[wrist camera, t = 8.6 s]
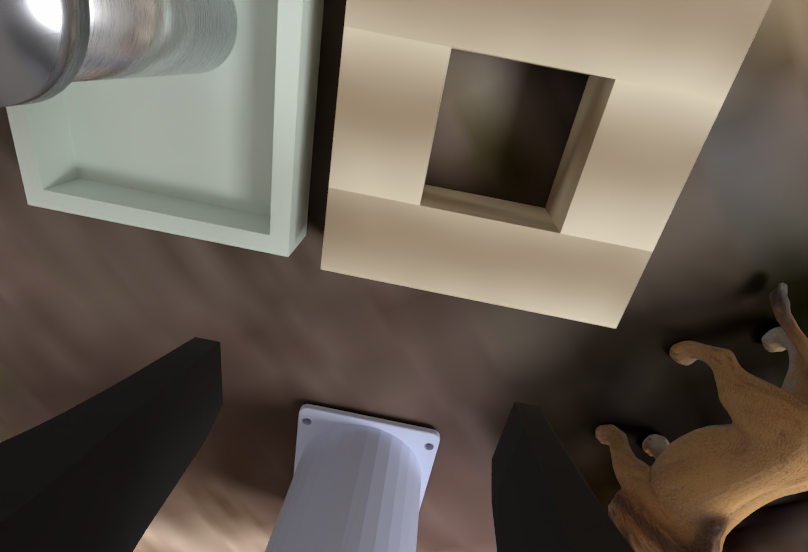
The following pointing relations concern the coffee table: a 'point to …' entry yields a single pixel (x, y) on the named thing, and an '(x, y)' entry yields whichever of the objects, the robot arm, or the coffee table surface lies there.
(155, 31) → the metal pin
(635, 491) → the lion figurine
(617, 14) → the pin block
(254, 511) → the coffee table surface
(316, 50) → the tray
